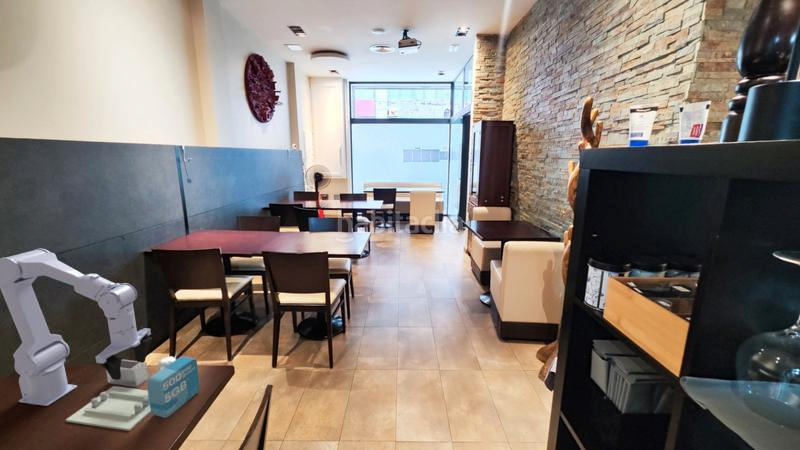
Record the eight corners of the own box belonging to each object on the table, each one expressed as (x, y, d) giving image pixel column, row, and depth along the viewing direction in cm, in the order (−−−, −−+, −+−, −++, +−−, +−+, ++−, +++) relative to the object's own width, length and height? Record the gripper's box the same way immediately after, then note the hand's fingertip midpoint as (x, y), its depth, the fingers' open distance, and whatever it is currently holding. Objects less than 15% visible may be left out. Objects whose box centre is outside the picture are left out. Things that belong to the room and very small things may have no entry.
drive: (108, 383, 101) (105, 366, 100) (120, 375, 105) (117, 358, 104) (137, 387, 100) (134, 370, 99) (148, 378, 104) (146, 361, 102)
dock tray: (66, 421, 86) (64, 412, 86) (113, 387, 99) (112, 379, 98) (129, 430, 84) (128, 421, 84) (169, 395, 97) (168, 387, 97)
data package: (164, 421, 88) (158, 383, 85) (151, 417, 89) (145, 379, 86) (200, 390, 99) (196, 356, 97) (188, 387, 100) (184, 353, 98)
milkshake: (184, 381, 103) (181, 353, 101) (165, 391, 98) (161, 362, 96) (176, 376, 105) (173, 349, 103) (158, 385, 101) (154, 357, 99)
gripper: (109, 343, 83) (117, 389, 86) (157, 316, 97) (162, 356, 100) (85, 340, 84) (93, 385, 87) (136, 314, 98) (142, 353, 101)
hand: (129, 369), depth 93 cm, fingers open, 7 cm apart
